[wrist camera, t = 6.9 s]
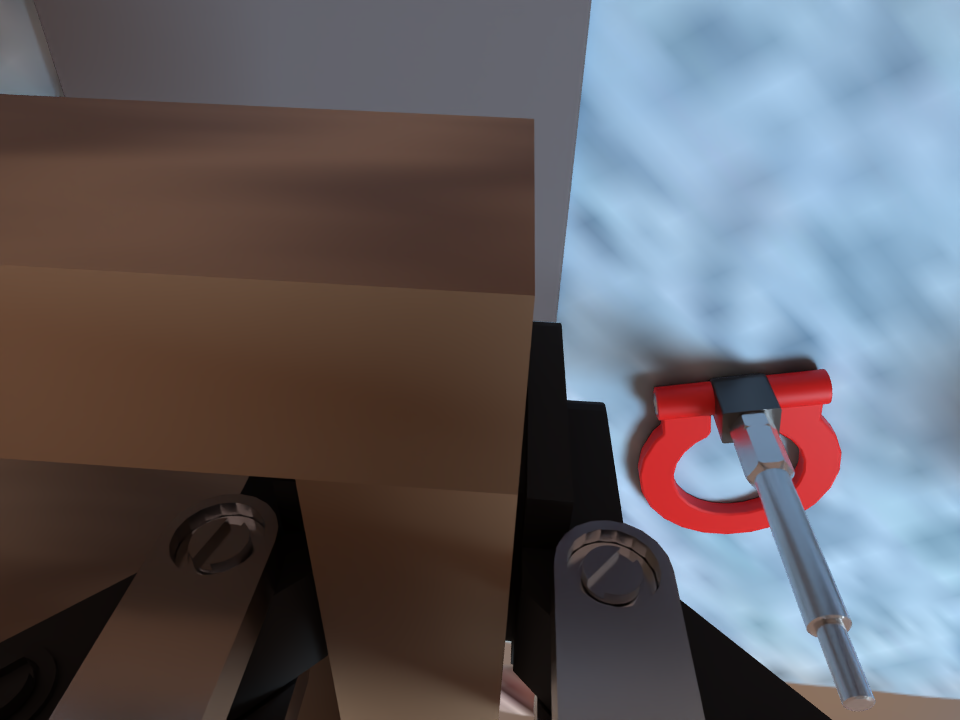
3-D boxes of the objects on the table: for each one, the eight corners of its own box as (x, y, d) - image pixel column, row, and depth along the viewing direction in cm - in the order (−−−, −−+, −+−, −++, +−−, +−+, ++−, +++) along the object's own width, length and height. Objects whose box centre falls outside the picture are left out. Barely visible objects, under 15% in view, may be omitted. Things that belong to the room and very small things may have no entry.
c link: (533, 118, 9) (535, 294, 4) (502, 552, 14) (489, 821, 10) (-467, 72, 9) (-1272, 191, 5) (-142, 504, 14) (-414, 737, 10)
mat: (595, -46, 18) (596, -46, 18) (555, 315, 25) (555, 322, 25) (24, -66, 19) (12, -66, 19) (135, 290, 26) (129, 296, 25)
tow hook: (820, 508, 31) (846, 355, 25) (963, 828, 20) (1059, 685, 15) (641, 521, 32) (629, 379, 27) (690, 825, 22) (687, 694, 16)
